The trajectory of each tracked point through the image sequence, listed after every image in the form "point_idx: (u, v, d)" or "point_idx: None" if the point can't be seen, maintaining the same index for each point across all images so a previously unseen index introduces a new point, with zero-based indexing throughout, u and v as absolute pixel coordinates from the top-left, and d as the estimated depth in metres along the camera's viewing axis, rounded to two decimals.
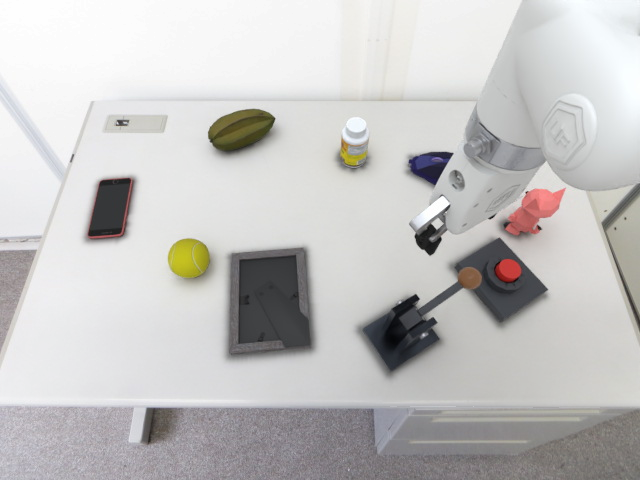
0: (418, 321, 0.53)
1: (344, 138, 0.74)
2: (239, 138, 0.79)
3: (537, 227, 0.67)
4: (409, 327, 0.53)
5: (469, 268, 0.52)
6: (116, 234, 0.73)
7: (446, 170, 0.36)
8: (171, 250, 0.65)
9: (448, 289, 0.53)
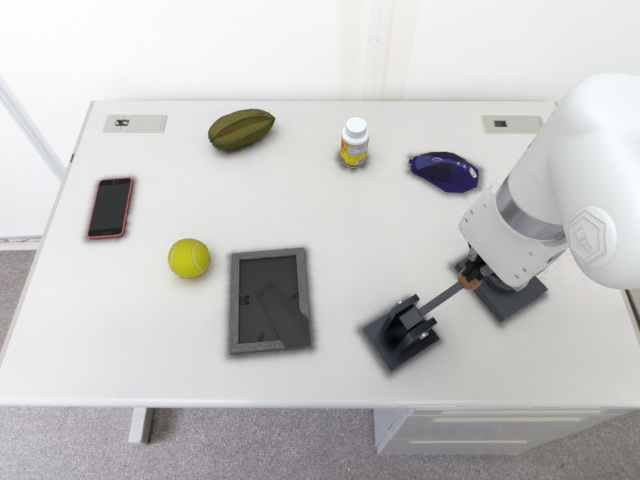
0: (418, 321, 0.53)
1: (344, 138, 0.74)
2: (239, 138, 0.79)
3: None
4: (409, 327, 0.53)
5: None
6: (116, 234, 0.73)
7: (541, 263, 0.37)
8: (171, 250, 0.65)
9: (448, 289, 0.54)
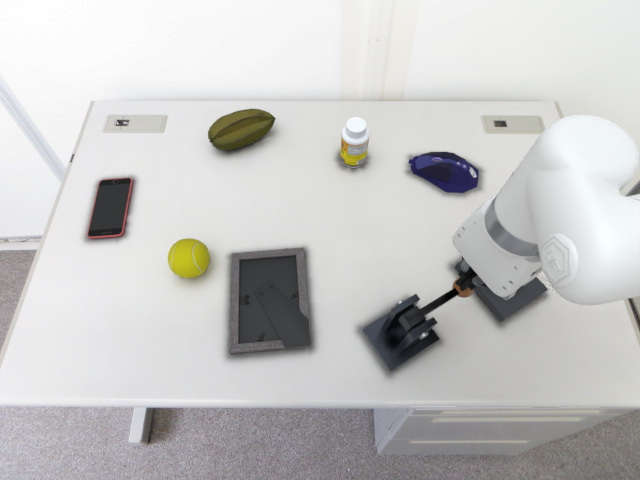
0: (421, 319, 0.54)
1: (344, 138, 0.74)
2: (239, 138, 0.79)
3: None
4: (413, 324, 0.53)
5: None
6: (116, 234, 0.73)
7: (525, 277, 0.41)
8: (171, 250, 0.65)
9: (446, 294, 0.56)
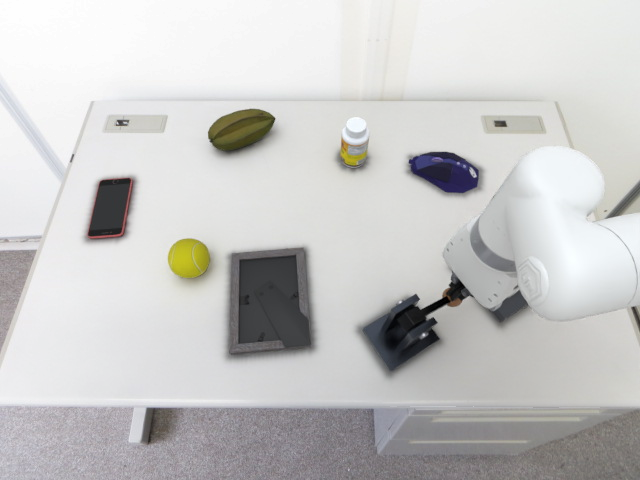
0: (423, 319, 0.54)
1: (344, 138, 0.74)
2: (239, 138, 0.79)
3: None
4: (416, 322, 0.53)
5: None
6: (116, 234, 0.73)
7: (508, 290, 0.44)
8: (171, 250, 0.65)
9: (440, 300, 0.58)
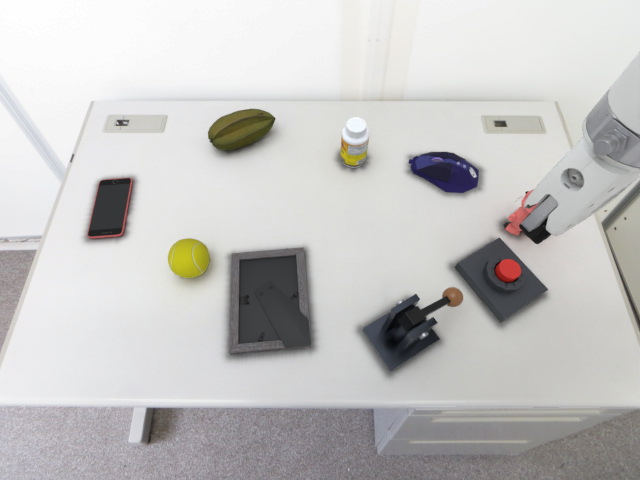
0: (423, 319, 0.54)
1: (344, 138, 0.74)
2: (239, 138, 0.79)
3: None
4: (416, 322, 0.53)
5: None
6: (116, 234, 0.73)
7: (558, 168, 0.34)
8: (171, 250, 0.65)
9: (440, 300, 0.58)
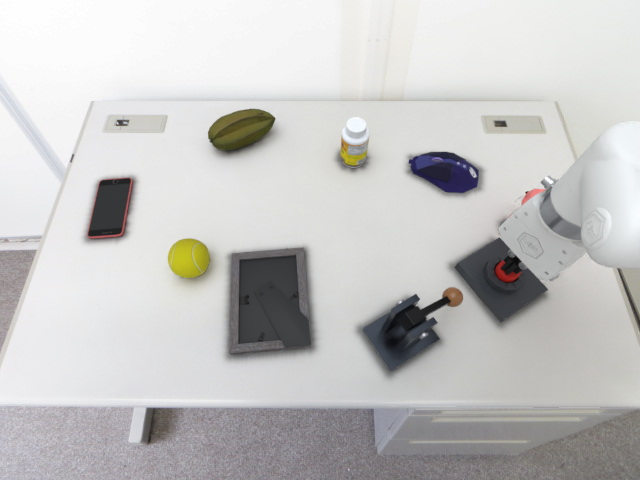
0: (423, 319, 0.54)
1: (344, 138, 0.74)
2: (239, 138, 0.79)
3: None
4: (416, 322, 0.53)
5: None
6: (116, 234, 0.73)
7: None
8: (171, 250, 0.65)
9: (440, 300, 0.58)
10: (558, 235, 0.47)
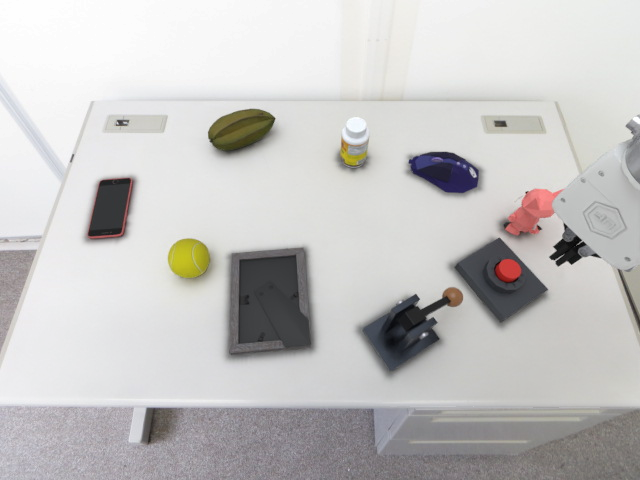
0: (423, 319, 0.54)
1: (344, 138, 0.74)
2: (239, 138, 0.79)
3: (537, 227, 0.67)
4: (416, 322, 0.53)
5: None
6: (116, 234, 0.73)
7: None
8: (171, 250, 0.65)
9: (440, 300, 0.58)
10: None
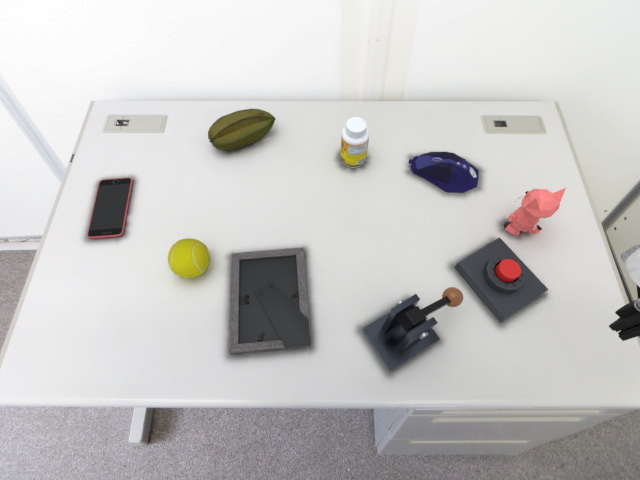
0: (423, 319, 0.54)
1: (344, 138, 0.74)
2: (239, 138, 0.79)
3: (537, 227, 0.67)
4: (416, 322, 0.53)
5: None
6: (116, 234, 0.73)
7: None
8: (171, 250, 0.65)
9: (440, 300, 0.58)
10: None
